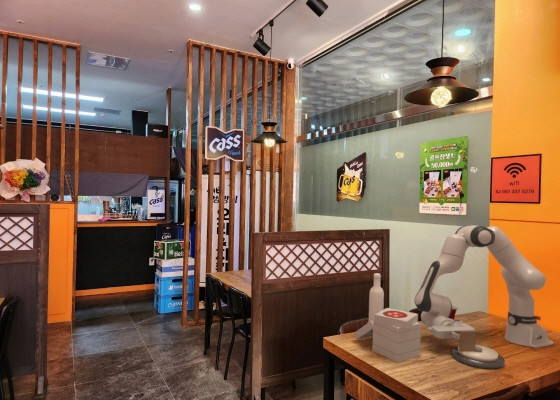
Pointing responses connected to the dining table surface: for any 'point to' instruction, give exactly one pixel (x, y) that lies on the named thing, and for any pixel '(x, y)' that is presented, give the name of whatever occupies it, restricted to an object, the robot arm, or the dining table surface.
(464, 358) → the dial housing
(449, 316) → the plastic cup
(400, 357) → the pizza boxes
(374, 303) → the bottle
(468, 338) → the dial
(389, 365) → the dining table surface
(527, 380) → the dining table surface
